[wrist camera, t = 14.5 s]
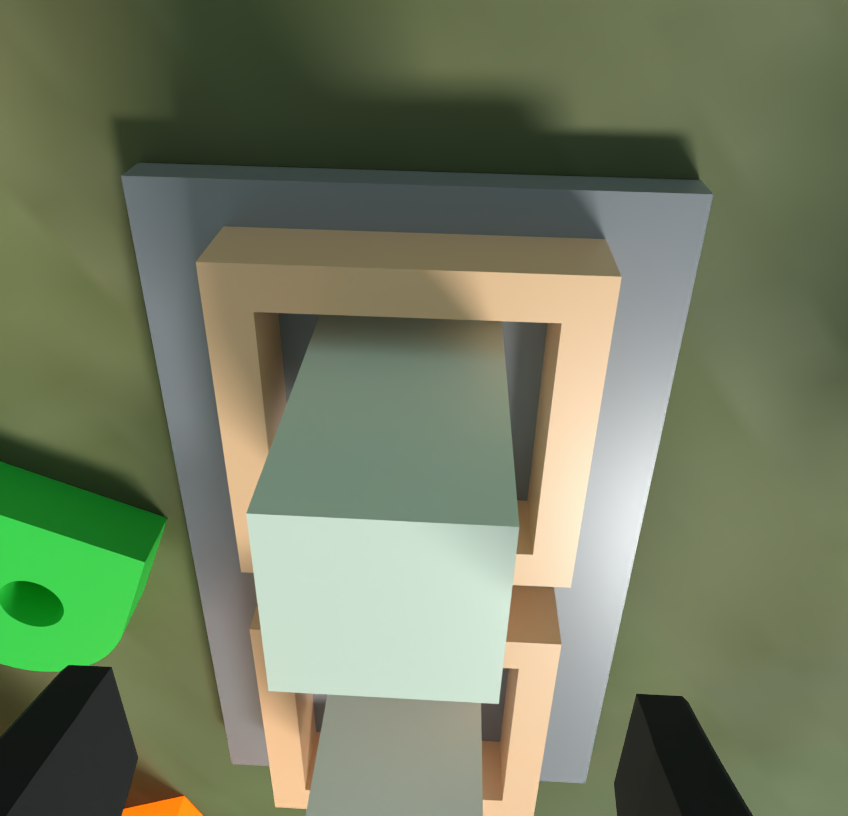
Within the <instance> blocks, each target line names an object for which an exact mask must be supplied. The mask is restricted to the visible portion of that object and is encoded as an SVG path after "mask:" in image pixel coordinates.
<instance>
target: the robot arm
mask: <svg viewBox="0 0 848 816" xmlns="http://www.w3.org/2000/svg"><path fill="white" fill-rule="evenodd" d="M137 760H138V755H137V752H136V749H135V745H134V742H133V738H132V735H131V732H130V728H129V725H128V721H127V718H126V715H125V711H124V708H123V704H122V701H121V698H120V694H119V691H118V687H117V684H116V681H115V677H114V674H113V670H112V667H99V666H80V665H68V666H66V667H65V668H64V669H63V670H62V671H61V672H60V673H59V674H58V675H57V676H56V677H55V678H54V679H53V681H52V682H51V683H50V684H49V685H48V686H47V687H46V688H45V689H44V690H43V691H42V693H41V694H40V695H39V696H38V697H37V698H36V699H35V700H34V701H33V702H32V703H31V705H30V706H29V707H28V708H27V709H26V710H25V711H24V712H23V713H22V714H21V715H20V717H19V718H18V719H17V720H16V721H15V722H14V723H13V724H12V725H11V726H10V727H9V728H8V730H7V731H6V732H5V733H4V734H3V735H2V736H1V737H0V816H122V813H123V809H124V806H125V803H126V799H127V796H128V792H129V789H130V785H131V781H132V778H133V774H134V770H135V767H136V763H137ZM614 788H615V798H616V808H617V816H753V815H752V813H751V812H750V810H749V808H748V807H747V805H746V804H745V802H744V800H743V799H742V797H741V795H740V793H739V792H738V790H737V788H736V787H735V785H734V783H733V782H732V780H731V778H730V777H729V775H728V773H727V772H726V770H725V768H724V766H723V765H722V763H721V761H720V759H719V758H718V756H717V754H716V752H715V751H714V749H713V747H712V745H711V743H710V742H709V740H708V738H707V736H706V734H705V733H704V731H703V729H702V727H701V725H700V723H699V722H698V720H697V718H696V716H695V714H694V712H693V710H692V708H691V706H690V705H689V703H688V702H687V701H686V700H685V699H684V698H683V697H682V696H667V695H648V694H636V698H635V702H634V706H633V710H632V714H631V718H630V722H629V726H628V730H627V734H626V738H625V742H624V746H623V750H622V754H621V758H620V762H619V766H618V770H617V774H616V778H615V782H614Z"/></svg>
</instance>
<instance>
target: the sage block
mask: <svg viewBox="0 0 848 816" xmlns="http://www.w3.org/2000/svg"><path fill="white" fill-rule="evenodd" d="M246 517H247V525H248V533H249V541H250V549H251V557H252V564H253V572H254V580H255V588H256V596H257V604H258V612H259V620H260V628H261V635H262V643H263V651H264V659H265V667H266V675H267V683H268V691H275V692H293V693H311V694H329V695H346V696H364V697H382V698H400V699H418V700H436V701H454V702H472V703H490V704H499V697H500V689H501V680H502V671H503V663H504V654H505V646H506V637H507V629H508V620H509V612H510V603H511V595H512V586H513V577H514V569H515V560H516V552H517V543H518V535H519V517H518V505H517V493H516V481H515V469H514V458H513V446H512V434H511V422H510V411H509V399H508V387H507V375H506V363H505V352H504V340H503V328H502V321H483V320H456V319H429V318H401V317H374V316H347V315H320V316H319V318H318V321H317V324H316V326H315V329H314V332H313V335H312V337H311V340H310V343H309V345H308V348H307V351H306V353H305V356H304V359H303V361H302V364H301V367H300V370H299V372H298V375H297V378H296V380H295V383H294V386H293V388H292V391H291V394H290V396H289V399H288V402H287V405H286V407H285V410H284V413H283V415H282V418H281V421H280V423H279V426H278V429H277V431H276V434H275V437H274V440H273V442H272V445H271V448H270V450H269V453H268V456H267V458H266V461H265V464H264V466H263V469H262V472H261V475H260V477H259V480H258V483H257V485H256V488H255V491H254V493H253V496H252V499H251V501H250V504H249V507H248V510H247V512H246Z"/></svg>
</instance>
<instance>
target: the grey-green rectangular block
mask: <svg viewBox="0 0 848 816" xmlns="http://www.w3.org/2000/svg"><path fill="white" fill-rule="evenodd" d="M306 816H483V791H482V732H481V703H472V702H454V701H436V700H418V699H400V698H382V697H364V696H346V695H329V694H327V700H326V705H325V711H324V716H323V722H322V727H321V733H320V738H319V744H318V750H317V755H316V761H315V766H314V772H313V777H312V783H311V788H310V794H309V800H308V805H307V811H306Z"/></svg>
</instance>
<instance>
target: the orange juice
mask: <svg viewBox="0 0 848 816" xmlns="http://www.w3.org/2000/svg"><path fill="white" fill-rule="evenodd" d="M122 816H203V815H202V814H201V813H200V812H199V811H198V810H197V809H196V808H195V807H194V806H193V805H192V804H191V803H190V802H189V800H188V799H187V798H186V797H185V796H181V797H177V798H172V799H168V800H163V801H158V802H154V803H149V804H145V805H140V806H135V807H131V808H126V809H123V813H122Z"/></svg>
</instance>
